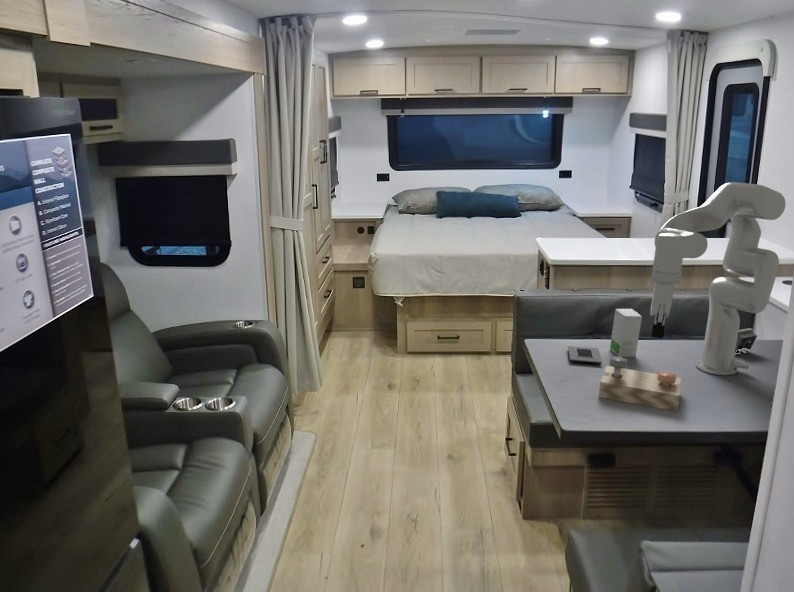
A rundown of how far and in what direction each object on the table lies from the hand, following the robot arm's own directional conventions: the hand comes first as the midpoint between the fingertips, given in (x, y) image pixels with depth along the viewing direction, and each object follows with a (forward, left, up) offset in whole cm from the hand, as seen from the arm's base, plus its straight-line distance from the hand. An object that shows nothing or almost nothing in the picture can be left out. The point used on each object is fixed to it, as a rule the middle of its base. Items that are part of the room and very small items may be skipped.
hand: (657, 336), depth 189 cm
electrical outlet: (+23, -24, -20) cm, 39 cm away
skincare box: (+11, -35, -20) cm, 42 cm away
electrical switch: (-27, -54, -20) cm, 64 cm away
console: (+3, 0, -19) cm, 20 cm away
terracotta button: (-4, 0, -18) cm, 18 cm away
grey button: (+10, 0, -16) cm, 19 cm away
